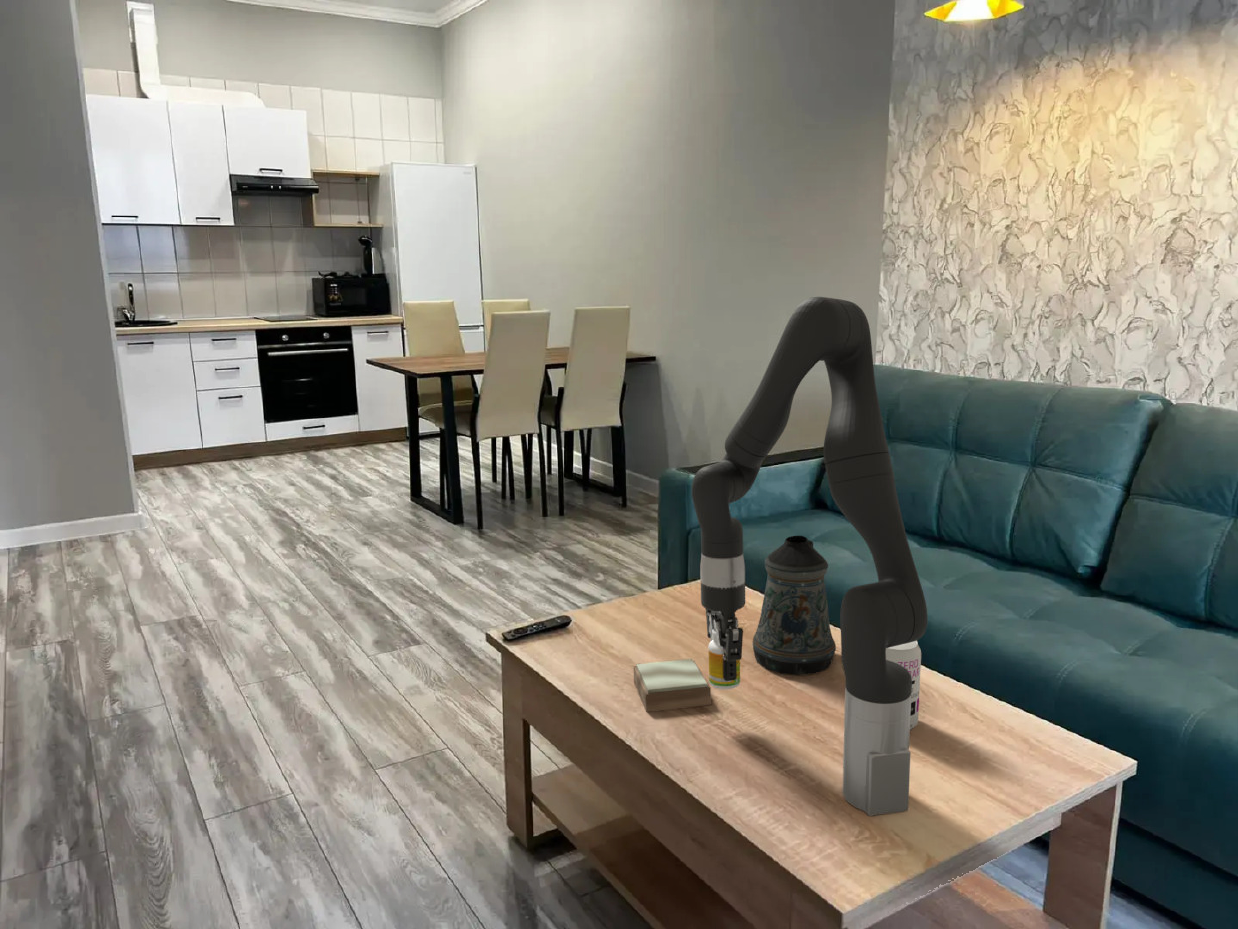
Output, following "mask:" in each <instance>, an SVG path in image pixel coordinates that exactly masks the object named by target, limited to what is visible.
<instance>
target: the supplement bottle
mask: <svg viewBox="0 0 1238 929" xmlns="http://www.w3.org/2000/svg"><path fill="white" fill-rule="evenodd" d="M712 639H713V640H712V641H711V642H710V641H709V643H708V649H707V650H708V682H709V683H708V684H709V686H710V687H711V686H712V687H713V688H715V689H719V690H730V689H731V690H732V689H735V688H738V687H739V686H740V684H741V660H736V669H737V678H736V679H735V680H731V681H725V680H724V678H723V659H722V650H721V647H720V646H718V642H717V634H716V630H715V628H714V629H713V630H712ZM722 640H723V641H726V639H723V638H722ZM731 652H733V649H732V650H731Z"/></svg>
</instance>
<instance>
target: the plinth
mask: <svg viewBox="0 0 1238 929" xmlns="http://www.w3.org/2000/svg"><path fill="white" fill-rule="evenodd" d="M633 684H634V686H635V688H636V690H637V694H638V696H639V697H640V700H641V702H642V705H643V708H644V710H645V712H646V713H649V712H659V711H667V710H676V709H686V708H696V707H703V706H711V705H712V700H711V699H712V698H711V697H712V696H711V695H712V694H711V692H712V689H711V685H710V683H708V681H707V679H706V678H705V676H704V674H703V673H702V671H701V669H700V668H699V666H698V664H697V663H696V661H695V659H693V658H684V659H676V660H666V661H665V660H664V661H658V662H656V661H655V662H647V663H637V664H636V665H634V666H633Z"/></svg>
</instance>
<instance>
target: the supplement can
mask: <svg viewBox="0 0 1238 929" xmlns="http://www.w3.org/2000/svg"><path fill="white" fill-rule="evenodd" d="M886 660H889V661H892V662H895V663H897V664H899V665H901V666H903V667H904V668H906V669H907V670H908V671H909V673H910V674H911V677H912V693H911V713H910V731H911V730H912V729H913V728H915V727H916V726H917V725H918V723H919V709H920V708H919V707H920V687H921V668H922V666H921V665H922V651H921V648H920V646H919V644H918V640H916V641H914V642H910V643H906V644H902V645H897V646H893V647H889V648H886Z"/></svg>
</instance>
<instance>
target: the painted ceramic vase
mask: <svg viewBox="0 0 1238 929" xmlns="http://www.w3.org/2000/svg"><path fill="white" fill-rule="evenodd" d="M764 567H765V570H766V573H767V577H766V584H765V590H764V596H763V600H762V606H761V609H760V610H761V611H760V616H759V621H758V624H757V628H756V632H754V635H753V638H752V650H753V654H754V658H755V661H756V663H757V664H759V665H760V666H761V667H763V668H764V669H765V670H769V671H772V672H775V673H778V674H783V675H790V676H791V675H792V676H799V677H800V676H806V675H813V674H819V673H821V672H823V671H825V670H827V669H829V668H831V666H832V663H833V660H834V656H835V653H836V649H837V648H836V647H837V646H836V641H835V640H834V637H833V634H832V631H831V625H830V617H829V606H828V599H827V591H826V585H825V575H826V574H827V573H828V568H829V563H828V561H827V560H826V558H825V557H824V556H823V555H821V553H820V552H818V551H817V550H816V549H815V547H814V542H813V541H812V540H809V539H808V538H807V537H806V536H804V535H792V536H788V537H786V538H785V540H784V543H783V544H782V545H780V546H779V547H778V548H777V549H774V550H773V551H772V552H771V553H769V555H768V556H767V557H766V558H765V560H764Z"/></svg>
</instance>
